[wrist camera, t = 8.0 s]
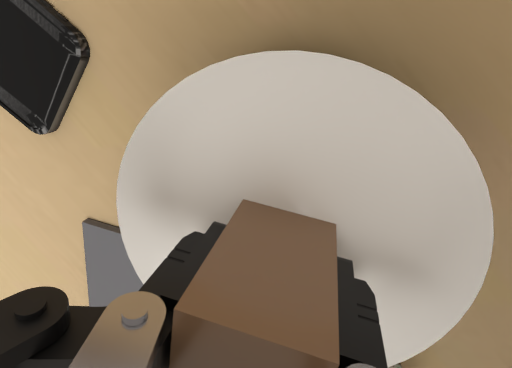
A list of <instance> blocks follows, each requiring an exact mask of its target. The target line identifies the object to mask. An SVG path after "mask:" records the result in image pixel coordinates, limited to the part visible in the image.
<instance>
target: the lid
mask: <svg viewBox="0 0 512 368" xmlns="http://www.w3.org/2000/svg"><path fill="white" fill-rule="evenodd" d="M116 203H117V214H118V223H119V227H120V232H121V236H122V240H123V243H124V246H125V249H126V251H127V254H128V257H129V259H130V261H131V263H132V265H133V267H134V269H135V271H136V273H137V275H138V277H139V278H140V280H141V281H142V283H143V285H144V283H145V282H146V281H147V280H148V279H149V277H150V276H151V275H152V274H153V273H154V271H155V270H156V269H157V268H158V267H159V265H160V264H161V263H162V262H163V261H164V259H165V258H167V256H168V255H169V253H170V252H171V251H172V250H174V247H175V246H176V245H177V244H178V243H179V241H180V240H181V239H182V238H183V237H185V236H187V235H189V234H191V233H192V232H194V231H197V232H200V233H204V234H205V233H206V231H207V230H208V228H209V227H210V226H211V224H212V223H213V222H214V221H216V222H219V223H223V224H226V227H225V229H224V230H223V232H222V233H221V235H220V236H219V238H218V240H217V241H216V243H215V244H214V246H213V248H212V249H211V251H210V252H209V254H208V256H207V257H206V259H205V260H204V262H203V263H202V265H201V267H200V268H199V270H198V271H197V273H196V275H195V276H194V278H193V279H192V281H191V282H190V284H189V286H188V287H187V289H186V290H185V292H184V294H183V295H182V297H181V298H180V300H179V302H178V303H177V305H176V306H175V308H174V312H173V325H172V338H171V351H170V364H169V368H338V367H339V322H338V279H337V256H338V257H342V258H345V259H349V260H352V262H353V270H354V278H357V279H360V280H364V281H366V282H367V284H368V285H369V287H370V288H371V290H372V292H373V293H374V295H375V299H376V305H377V312H378V316H379V324H380V327H381V333H382V338H383V344H384V350H385V355H386V361H387V367H390V366H393V365H395V364H398V363H400V362H403V361H405V360H407V359H409V358H411V357H413V356H415V355H417V354H419V353H420V352H422V351H424V350H426V349H427V348H428V347H430V346H431V345H433V344H434V343H435V342H437V341H438V340H440V339H441V338H442V337H443V336H444V335H445V334H447V333H448V332H449V331H450V330H451V329H452V328H453V327H454V326H455V325H456V324H457V323H458V322H459V321H460V319H461V318H462V317H463V315H464V314H465V313H466V312H467V310H468V309H469V308H470V306H471V305H472V303H473V301H474V300H475V298H476V296H477V294H478V292H479V290H480V289H481V287H482V285H483V282H484V279H485V276H486V273H487V270H488V267H489V264H490V260H491V253H492V247H493V241H494V228H493V210H492V206H491V201H490V196H489V191H488V187H487V184H486V182H485V179H484V177H483V174H482V172H481V169H480V167H479V164H478V162H477V160H476V158H475V157H474V155H473V153H472V152H471V150H470V148H469V147H468V145H467V143H466V142H465V140H464V139H463V137H462V136H461V134H460V133H459V132H458V131H457V130H456V129H455V127H454V126H453V125H452V124H451V123H450V122H449V120H448V119H447V118H446V117H445V116H444V115H443V113H441V112H440V111H439V110H438V109H437V108H436V107H434V106H433V105H432V104H431V103H430V102H429V101H427V100H426V99H425V98H424V97H423V96H421V95H420V94H419V93H418V92H416V91H415V90H413V89H411V88H410V87H408V86H407V85H405V84H403V83H402V82H400V81H398V80H397V79H395V78H394V77H392V76H390V75H388V74H386V73H383V72H381V71H379V70H376V69H374V68H372V67H369V66H367V65H365V64H362V63H360V62H356V61H353V60H349V59H345V58H341V57H337V56H334V55H330V54H323V53H315V52H306V51H298V50H294V51H265V52H259V53H253V54H247V55H242V56H236V57H233V58H230V59H227V60H224V61H221V62H218V63H215V64H212V65H210V66H208V67H206V68H204V69H202V70H200V71H198V72H196V73H194V74H192V75H190V76H188V77H186V78H185V79H184V80H182V81H181V82H179V83H178V84H177V85H175V86H174V87H172V88H171V89H170V90H168V91H167V92H166V93H165V94H164V95H163V96H162V97H161V98H160V99H159V100H158V101H157V102H156V103H155V104H154V105H153V106H152V107H151V108H150V109H149V110H148V112H147V113H146V114H145V116H144V117H143V118H142V120H141V121H140V123H139V124H138V125H137V127H136V129H135V131H134V133H133V135H132V137H131V138H130V140H129V142H128V144H127V147H126V150H125V153H124V156H123V159H122V162H121V165H120V171H119V176H118V181H117V200H116Z"/></svg>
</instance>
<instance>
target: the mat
mask: <svg viewBox="0 0 512 368" xmlns="http://www.w3.org/2000/svg"><path fill="white" fill-rule="evenodd" d="M82 226H83V237H84V249H85V261H86V272H87V284H88V295H89V307H104V306H108V305H109V304H110V303H111V302H112V301H113V300H115V299H116V298H118V297H119V296H121V295H124V294H126V293H130V292H136V291H139V289H140V288H141V287H142V286H143V283H142V281H141V280H140V278H139V277H138V275H137V273H136V271H135V269H134V267H133V265H132V263H131V261H130V259H129V257H128V254H127V251H126V249H125V246H124V243H123V240H122V236H121V232H120V228H118V227H115V226H112V225H108V224H105V223H102V222H99V221H95V220H92V219H89V218H88V219H86V220H85V221H83V222H82Z"/></svg>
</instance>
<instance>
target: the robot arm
mask: <svg viewBox="0 0 512 368" xmlns="http://www.w3.org/2000/svg"><path fill="white" fill-rule="evenodd" d="M225 227H226V224H223V223H219V222H216V221H214V222H213V223H212V224H211V226H210V227H209V228H208V230H207V231H206V233H205V234H204V233H200V232H197V231H194V232H192V233H191V234H189V235H187V236H185V237H183V238H182V239H181V240H180V241H179V243H178V244H177V245H176V246H175V247H174V250H172V251H171V252H170V253H169V255H168V256H167V258H165V259H164V261H163V262H162V263H161V264H160V265H159V267H158V268H157V269H156V270H155V271H154V273H153V274H152V275H151V276H150V277H149V279H148V280H147V281H146V282H145V283H144V285H143V286H142V287H141V288H140V289H139V291H136V292H130V293H126V294H124V295H121V296H119V297H118V298H116V299H115V300H113V301H112V302H111V303H110V304H109V305H108V306H104V307H89V306H69V301H68V297H67V295H66V294H65V293H64V292H63V291H62V290H60V289H58V288H54V287H36V288H31V289H27V290H24V291H21V292H19V293H17V294H14V295H12V296H10V297H8V298H5V299H3V300H1V301H0V368H169V364H170V351H171V338H172V325H173V312H174V308H175V306H176V305H177V303H178V302H179V300H180V298H181V297H182V295H183V294H184V292H185V290H186V289H187V287H188V286H189V284H190V282H191V281H192V279H193V278H194V276H195V275H196V273H197V271H198V270H199V268H200V267H201V265H202V263H203V262H204V260H205V259H206V257H207V256H208V254H209V252H210V251H211V249H212V248H213V246H214V244H215V243H216V241H217V240H218V238H219V236H220V235H221V233H222V232H223V230H224V229H225ZM337 279H338V322H339V367H338V368H388V367H387V361H386V355H385V350H384V344H383V338H382V333H381V327H380V324H379V316H378V312H377V305H376V299H375V295H374V293H373V292H372V290H371V288H370V287H369V285H368V284H367V282H366V281H364V280H360V279H357V278H354V270H353V262H352V260H349V259H345V258H342V257H338V256H337Z"/></svg>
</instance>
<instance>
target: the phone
mask: <svg viewBox="0 0 512 368" xmlns="http://www.w3.org/2000/svg"><path fill="white" fill-rule="evenodd" d="M89 57H90V48H89V45H88V42H87V40H86V38H85V36H84V35H83V34H82V33H81V32H80V31H79V30H78V29H77V28H75V27H74V26H73V25H72V24H71V23H70V22H69V21H67V19H65V18H64V17H63V16H62V15H61V14H60V13H58V12H57V11H56V10H55V9H54V8H53V7H52V6H51V5H50V4H49V3H47V2H46V1H45V0H0V105H1V106H2V107H3V108H4V109H5V110H7V111H8V112H9V113H10V114H11V115H13V116H14V117H15V118H16V119H18V120H19V121H20V122H21V123H22V124H24V125H25V126H26V127H27V128H29V129H30V130H31V131H33V132H34V133H36V134H47V133H51V132H54V131H56V130H57V129H58V127H59V126H60V123H61V121H62V119H63V117H64V115H65V112H66V110H67V108H68V106H69V103H70V101H71V99H72V97H73V95H74V92H75V90H76V88H77V86H78V84H79V81H80V79H81V77H82V75H83V72H84V70H85V68H86V66H87V64H88V61H89Z"/></svg>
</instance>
